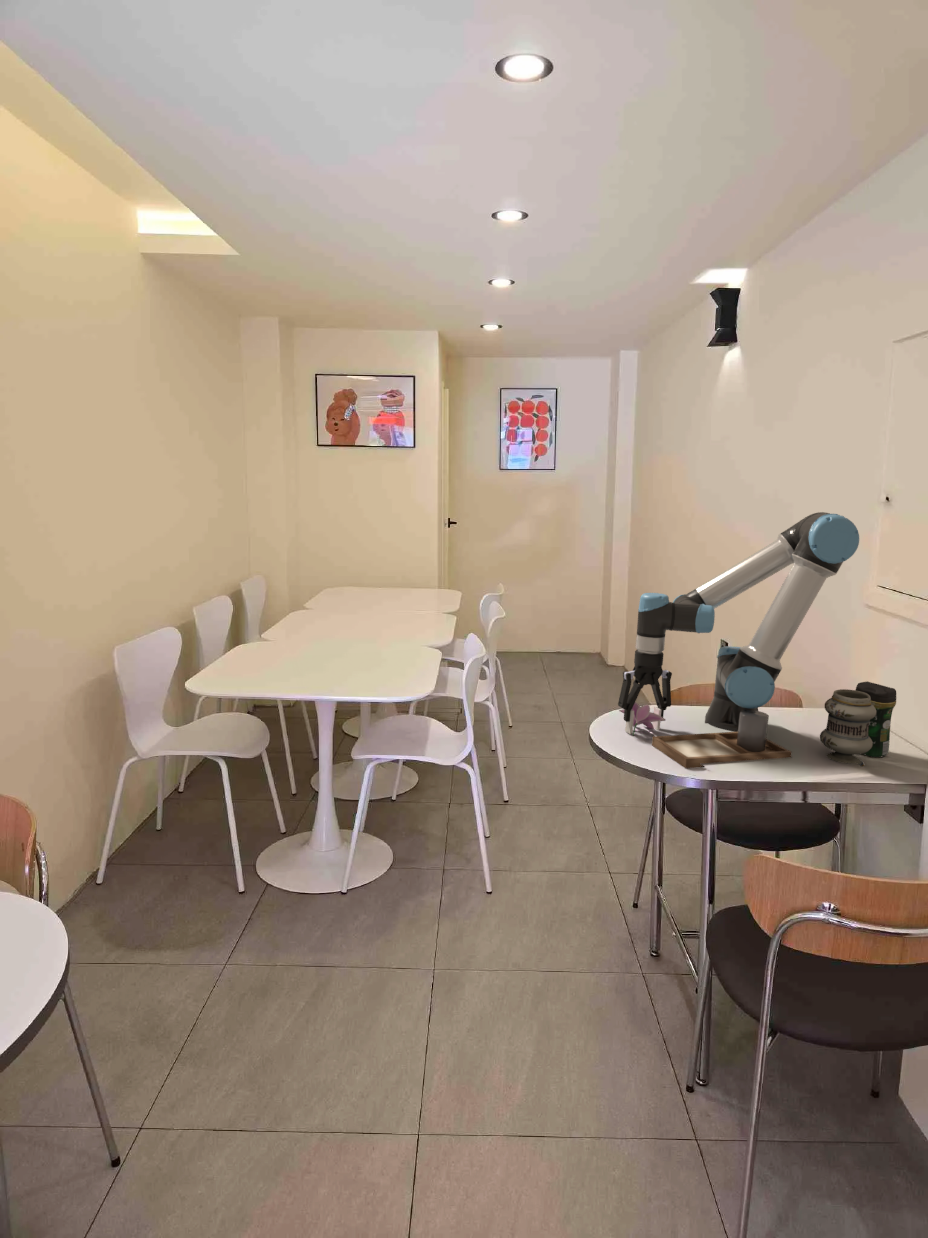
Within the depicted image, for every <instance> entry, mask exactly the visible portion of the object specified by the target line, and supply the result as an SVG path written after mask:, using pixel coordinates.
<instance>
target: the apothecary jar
mask: <svg viewBox="0 0 928 1238" xmlns="http://www.w3.org/2000/svg"><path fill="white" fill-rule="evenodd" d="M824 710H825V712H827V714H828V716H827V723H826V728H825V729H823V730H822V731H821V732H820V734H819V740H820V742H821V744H823V745H824V747H825V748H827V749H829V750H830V751H831V752H828V753H826V755H825V756H826V757H827V758H828V759H830V760H832V761H834V762H838V763H843V764H856V765H858V766H860V767H863V766H864V767H865V763H864V762H863V761H862V759H860V758H858V757H857V756H858V755H864V754H863V753H866V752H868V751H869V750H870V749H871V748H872V740H871V738H870V737H869V736H868V730H869V722H870V719H872V718H874V717H875V715H876V709H875V707H874V706H873V705H872V704H871V697H870V695H868V694H867V693H864V692H860V691H856V689H854V690H853V689H847V688H845V689H836V690H834V691H833V693H832V696H831V697H830V698H828V699H827V700H826V701H825V703H824Z"/></svg>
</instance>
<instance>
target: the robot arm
mask: <svg viewBox="0 0 928 1238" xmlns="http://www.w3.org/2000/svg"><path fill="white" fill-rule="evenodd" d="M859 545H860V533H859V530H858V528H857V526H856V525H855V524H854V522H853V521H851V520H850V519H849V518H847V517H846V516H844V515H840V514H838V513H829V512H823V511H822V512H819V511H818V512H814V513H812V514H809V515H807V516H805V517H803V518H802V519H800V520H799V521H798V522H796V523H794V524H793V525H791V526H790V527H789V528H787V529H785V530H784V531H782V532H781V533H779V534H778V536H777V539H776V540H774V541H773V542H771V543H769V544H768V545H766V546H764V547H762V548H761V549H760V550H758V551H755V552H754V553H753V554H751V555H750V556H748V557H746V558H744V559H743V560H741V561H740V562H737V563H736V564H735V565H732V566H731V567H729V568H728V569H726V570H724V571H723V572H721V573H719V574H718V575H715V576H714V577H712V578H711V579H710V580H708V581H706V582H705V583H703V584H701V585H699V586H697V587H696V588H694V589H692V590H691V591H689V592H688V593H685V594H679V595H678V596H676V597H675V598H674V599H673V601H670V600H669V599H670V598H669V596H668V595H667V594H665V593H659V592H644V593H642V594H641V596H640V597H639V604H638V612H637V623H636V624H637V626H636V639H635V649H636V650H635V651H634V659H633V662H634V663H633V664H634V667H633V669H632V670H630V671H626V670H624V671H623V672H622V683H621V689H620V693H619V697H618V703H617V706H618V707H620V708H621V709H624V713H623V721H624V722H625V728H624V731H625V732H626V733H627V734H629V735H633V731H634V726H633V720H634V711H633V710H632V708H633V705H634V703H635V702H637V699H638V697H639V695H640V692H641V690H642V689H643V688H644V686H647V685H650V687H651V690H652V694H653V697H654V701H655V704H656V706H654V707H653V713H655V714H657V715H659V716H661V717H663V718H664V712H665V711H666V710H667V707H671V706H672V692H671V691H672V690H671V679H672V676H673V673H672V672H671V671H669V670H668V669H664V670H663V667H662V666H663V665H664V650H665V644H666V643H665V642H666V632H667V631H676V632H685V633H695V634H710V633H711V632H712V631H713V630H714V625H715V620H716V619H715V617H716V616H715V615H716V614H715V613H716V611H715V609H717V608H719V607H720V606H722V605H724V604H726V603H727V602H729V601H730V600H732V599H734V598H735V597H737V596H739V595H741V594H742V593H744V592H746V591H747V590H749V589H751V588H753V587H755V586H756V585H758V584H760V583H761V582H763V581H764V580H766V579H768V578H769V577H771V576H773V575H775V574H777V573H779V572H780V571H782V570H783V569H785V568H787V567H788V566H790V565H792V566H791V568H790V569H789V572H788V574H787V575H786V577H785V579H784V581H783V583H782V584H781V585H780V588H779V590H778V592H777V593H776V595H775V597H774V599H773V601H772V603H771V604H770V606H769V607H768V610H767V611H766V614H764V617H763V619H762V620H761V622H760V624H759V625H758V628H757V629H756V631H755V633H754V635H753V637H752V638H751V640H750V642H749V644H747V645H744V646H731V645H729V646H727V645H726V646H721V647H720V648H719V649H718V654H717V656H716V659H717V663H716V674H715V683H714V692H713V698H712V700H711V702H710V705H709V707H708V710H707V712H706V713H705V716H704V724H707V725H710V726H711V727H714V728H717V729H721V730H725V731H728V732H738V726H739V717H740V711H743V710H755V711H759V708H760V707H763V706H764V705H766V704H767V703H769V702H770V700H771V699H772V698H773V696H774V694H775V690H776V689H775V687H776V685H775V682H776V680H777V679H778V676H780V674H781V671H782V670H783V667H782V664H781V659H782V657H783V655H784V654H785V652H786V650H787V649H788V646H789V645H790V643H791V641H792V639H793V638H794V636H795V634H796V633H797V631H798V629H799V627H800V625H801V623H802V622H803V621H804V618H806V615H807V613H808V612H809V610H810V608H811V607H812V605H813V603H814V601H815V599H816V598H817V596H818V594H819V592H820V591H821V589H822V587H823V586H824V583H825V582H826V580H827V579H828V578H831V577H833V576H836V575H837V573H838V572H839V570H840V568H841V567H842V565H843V563H844V562H846V561H847V560H849V559H851V557H853V556H854V555H855V553H856V551H857V550H858V548H859ZM633 678H634V679H633ZM660 678H661V685H660V681H659V679H660ZM632 680H633V683H632ZM631 686H632V687H631ZM652 724H653V727H654V730H656V731H660V730H661V721H656V722H652Z"/></svg>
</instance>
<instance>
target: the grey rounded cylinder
mask: <svg viewBox="0 0 928 1238" xmlns="http://www.w3.org/2000/svg"><path fill="white" fill-rule="evenodd" d="M768 725H769V714H768V713H765V712H764V711H759V710H758V711H755V710H743V711H740V717H739V726H738V735H737V745H738V746H740V747H742V748H744V749H745V750H747V751H750V752H762V751H764V750H765V744H766V739H767V735H768V734H767V733H768Z"/></svg>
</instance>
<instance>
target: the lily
mask: <svg viewBox="0 0 928 1238" xmlns="http://www.w3.org/2000/svg"><path fill="white" fill-rule="evenodd" d="M632 710H633V711H634V720H633V732H632V736H633V737H634V735H635V731H636V728H637V726H639V725H644V726H645V727H646V728H648V729H652V730H653V729H654V730H655V728H654V727H653V722H656V721H660V722H664V721H666V718H664V716H663V717H661V716H659V715H657V714H655V713H654V712H652V711H651V708H650V705H649V704H645V705H644V704H643V705H641V706H640V704H639V703H638V702H637V701H635V703H634V705H633V708H632ZM618 711H619V712H620V713H622V714H624V709H623V708H621V709H619V710H618Z"/></svg>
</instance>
